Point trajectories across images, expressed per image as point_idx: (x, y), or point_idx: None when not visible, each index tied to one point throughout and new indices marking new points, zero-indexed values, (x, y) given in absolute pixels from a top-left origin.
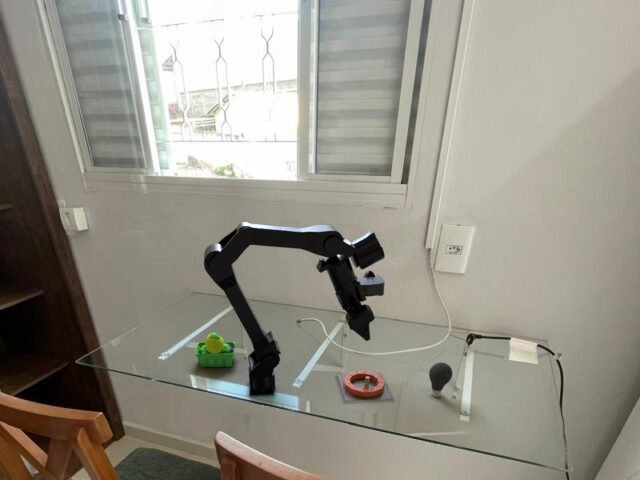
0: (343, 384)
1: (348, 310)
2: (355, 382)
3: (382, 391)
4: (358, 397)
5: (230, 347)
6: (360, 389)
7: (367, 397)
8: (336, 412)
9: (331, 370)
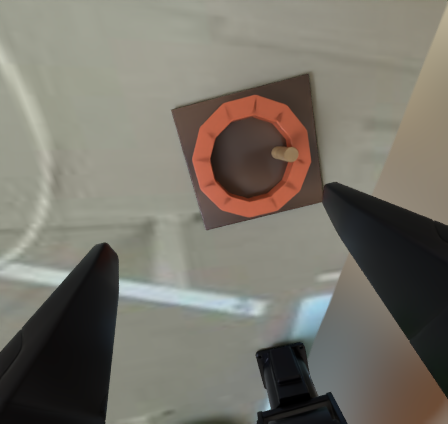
0: None
1: (93, 413)
2: (236, 182)
3: None
4: (307, 171)
5: None
6: (298, 170)
7: None
8: None
9: (177, 244)
